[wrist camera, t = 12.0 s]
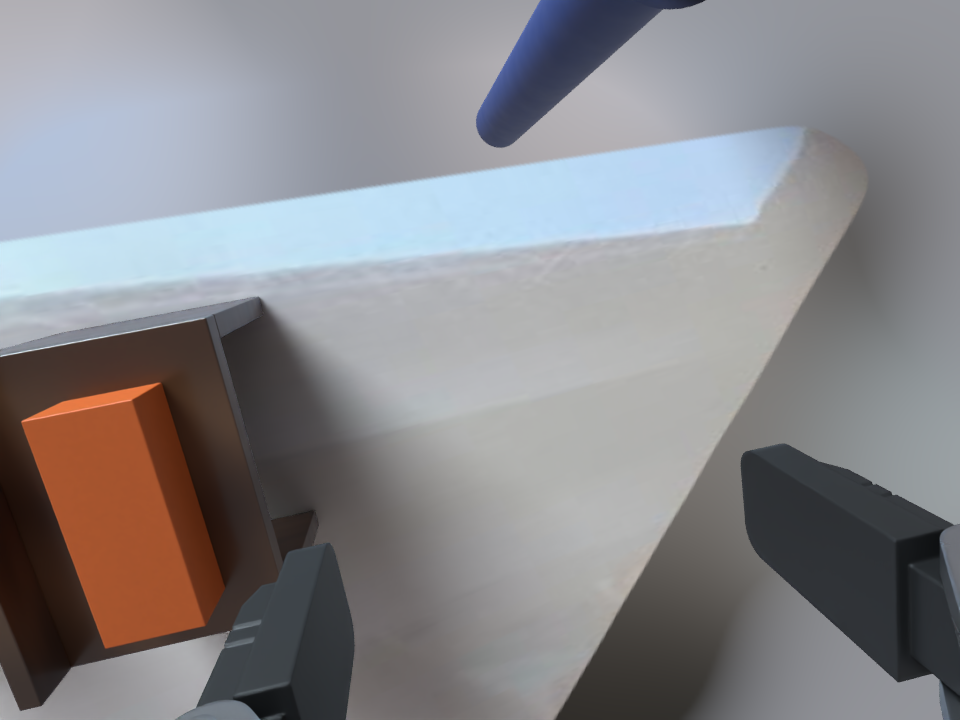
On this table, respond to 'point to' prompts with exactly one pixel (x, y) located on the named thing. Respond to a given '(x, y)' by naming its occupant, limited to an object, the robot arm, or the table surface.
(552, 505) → the table surface
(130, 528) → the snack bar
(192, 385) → the shelf
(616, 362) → the table surface
